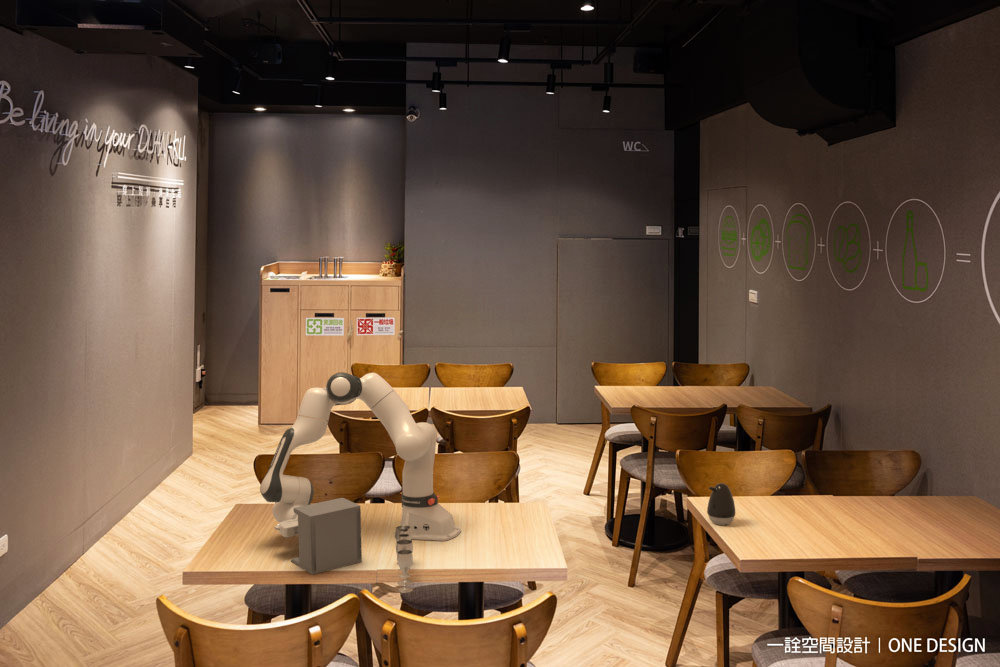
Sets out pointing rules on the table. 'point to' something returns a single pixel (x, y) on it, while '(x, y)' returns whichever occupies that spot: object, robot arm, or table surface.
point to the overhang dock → (328, 535)
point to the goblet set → (404, 555)
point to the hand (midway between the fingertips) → (318, 530)
